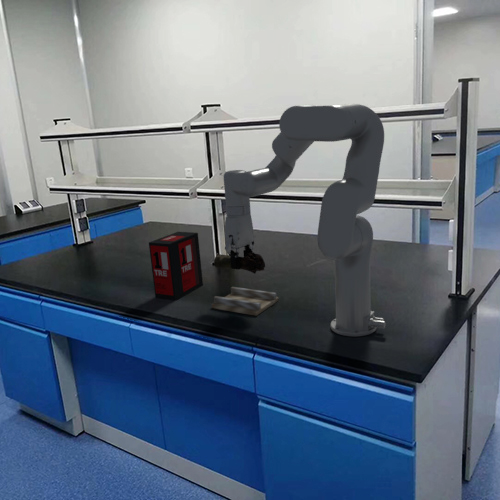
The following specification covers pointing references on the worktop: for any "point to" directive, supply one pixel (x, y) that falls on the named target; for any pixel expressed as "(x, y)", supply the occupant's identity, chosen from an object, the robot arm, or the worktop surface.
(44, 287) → the worktop surface
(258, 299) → the pipe cradle
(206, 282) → the worktop surface
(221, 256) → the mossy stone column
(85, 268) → the worktop surface
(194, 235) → the cleaning product box
